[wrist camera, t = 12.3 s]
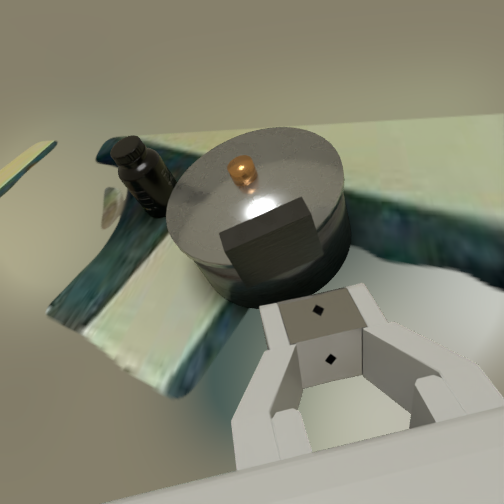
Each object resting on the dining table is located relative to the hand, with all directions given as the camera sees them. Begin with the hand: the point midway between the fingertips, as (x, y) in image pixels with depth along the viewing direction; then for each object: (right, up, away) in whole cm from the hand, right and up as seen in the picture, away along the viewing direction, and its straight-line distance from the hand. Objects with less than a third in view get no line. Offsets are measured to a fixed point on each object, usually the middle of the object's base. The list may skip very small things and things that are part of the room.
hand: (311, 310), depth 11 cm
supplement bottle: (-16, +10, +55) cm, 58 cm away
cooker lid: (-1, +8, +35) cm, 36 cm away
